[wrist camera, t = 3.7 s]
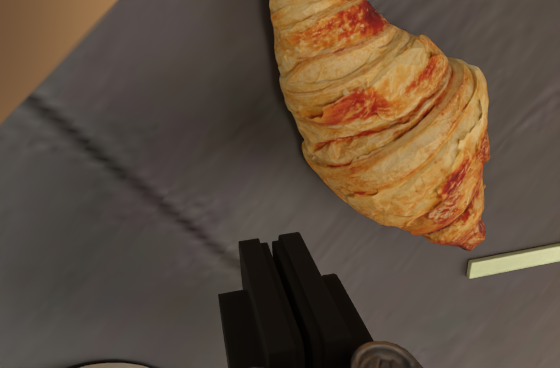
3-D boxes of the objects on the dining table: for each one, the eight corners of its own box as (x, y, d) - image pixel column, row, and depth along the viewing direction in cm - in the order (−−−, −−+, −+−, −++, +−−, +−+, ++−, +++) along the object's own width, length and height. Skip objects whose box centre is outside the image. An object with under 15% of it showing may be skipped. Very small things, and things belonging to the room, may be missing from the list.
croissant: (219, 4, 25) (172, 69, 20) (372, -129, 20) (371, -95, 14) (405, 226, 35) (411, 316, 29) (543, 175, 30) (585, 271, 24)
